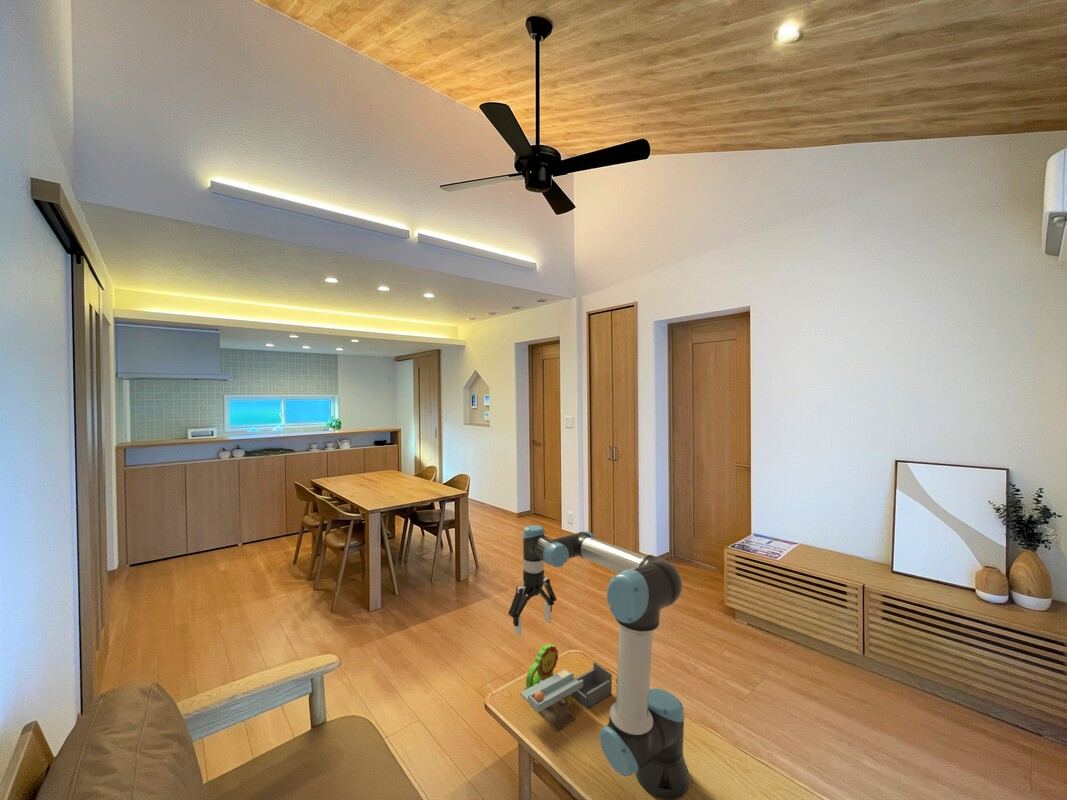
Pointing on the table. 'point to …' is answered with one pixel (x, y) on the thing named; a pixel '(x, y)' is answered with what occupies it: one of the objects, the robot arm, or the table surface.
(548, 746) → the table surface
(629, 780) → the table surface
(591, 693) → the pulled-out tray drawer
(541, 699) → the ball
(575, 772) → the table surface
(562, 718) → the stand
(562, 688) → the lever
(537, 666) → the toy lion
